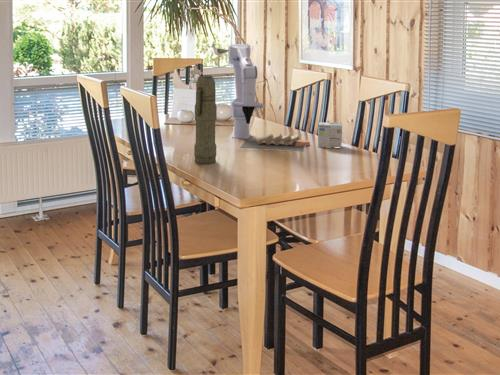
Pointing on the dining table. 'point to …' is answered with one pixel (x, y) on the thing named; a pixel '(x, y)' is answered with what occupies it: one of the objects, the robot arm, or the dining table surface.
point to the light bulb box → (329, 134)
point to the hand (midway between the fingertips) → (248, 123)
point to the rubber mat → (270, 146)
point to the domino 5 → (301, 143)
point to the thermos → (205, 120)
